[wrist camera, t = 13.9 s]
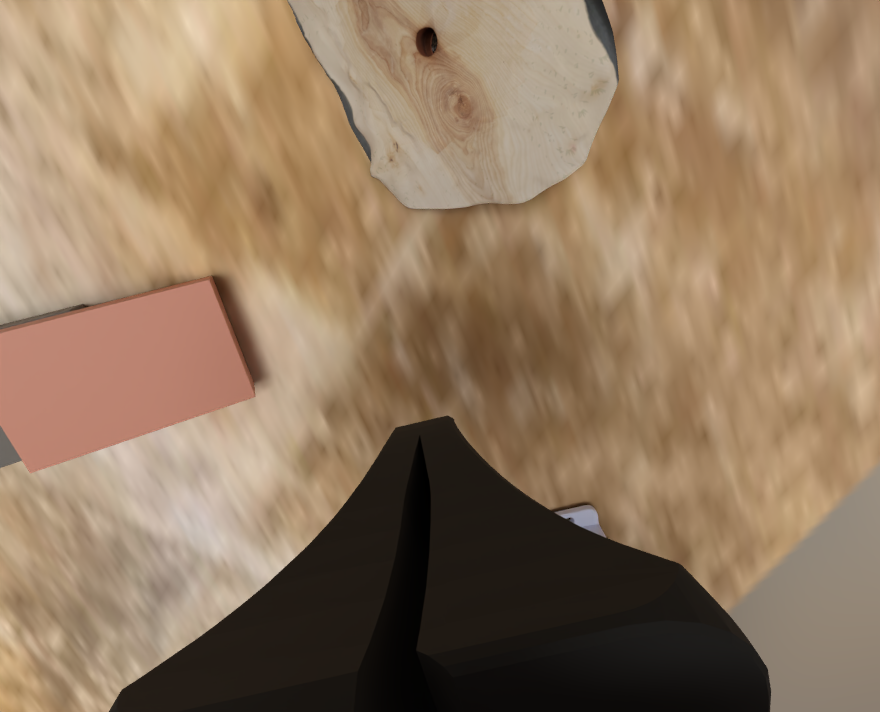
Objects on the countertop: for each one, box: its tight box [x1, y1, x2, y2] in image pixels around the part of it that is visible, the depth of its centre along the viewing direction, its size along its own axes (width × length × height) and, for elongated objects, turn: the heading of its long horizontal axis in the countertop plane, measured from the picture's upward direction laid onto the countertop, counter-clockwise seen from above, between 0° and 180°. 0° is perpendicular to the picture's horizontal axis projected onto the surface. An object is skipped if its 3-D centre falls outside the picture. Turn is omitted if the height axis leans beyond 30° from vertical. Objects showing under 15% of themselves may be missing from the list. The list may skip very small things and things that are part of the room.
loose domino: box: [0, 276, 255, 473], centre depth 18 cm, size 2×5×8 cm
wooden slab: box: [287, 0, 619, 209], centre depth 15 cm, size 11×4×12 cm
